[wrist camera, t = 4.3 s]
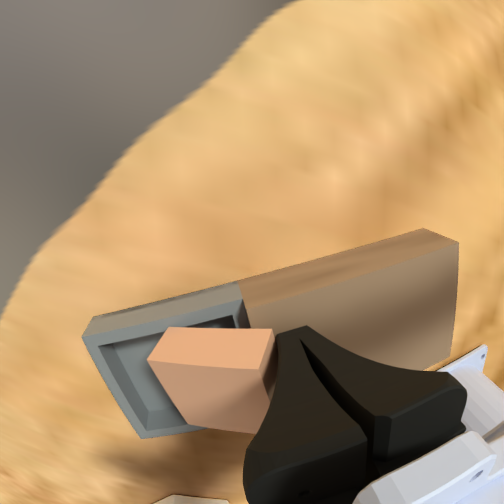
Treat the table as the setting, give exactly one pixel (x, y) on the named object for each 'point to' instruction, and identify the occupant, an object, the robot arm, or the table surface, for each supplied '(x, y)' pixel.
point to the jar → (190, 500)
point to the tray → (142, 344)
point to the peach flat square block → (218, 375)
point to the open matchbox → (368, 299)
